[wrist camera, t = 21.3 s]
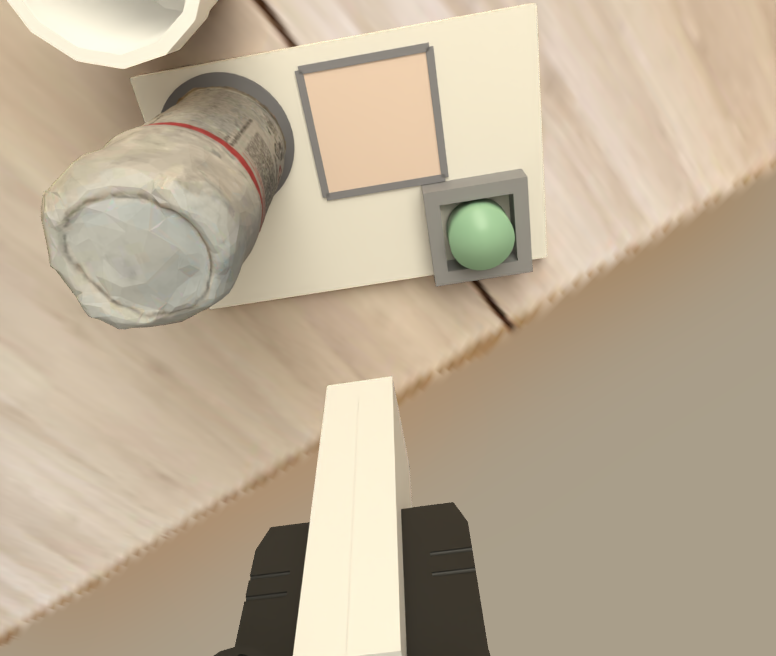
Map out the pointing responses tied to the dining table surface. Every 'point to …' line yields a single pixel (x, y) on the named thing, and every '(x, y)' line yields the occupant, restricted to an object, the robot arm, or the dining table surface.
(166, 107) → the pad
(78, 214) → the spray can
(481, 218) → the button
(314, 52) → the cream board
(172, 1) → the foam cup
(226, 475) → the dining table surface
